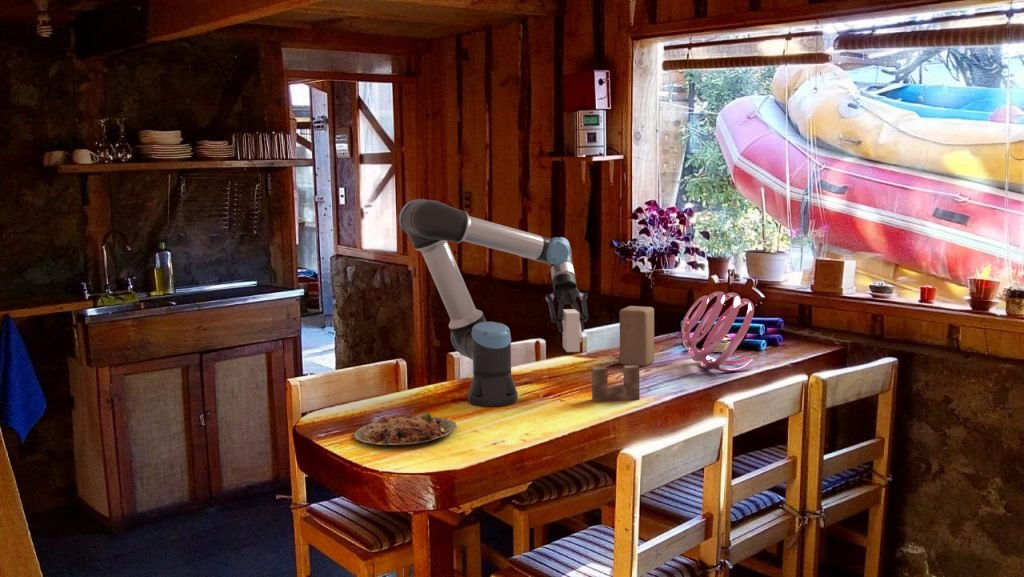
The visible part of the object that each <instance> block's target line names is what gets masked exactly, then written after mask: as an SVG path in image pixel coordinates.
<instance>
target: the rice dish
mask: <svg viewBox="0 0 1024 577" xmlns="http://www.w3.org/2000/svg"><path fill="white" fill-rule="evenodd" d="M457 426H458V425H457V423H456V422H455V421H452V420H451V419H448V418H446V417H445V418H444V417H443V418H442V417H437V416H436V417H435V416H432V415H431V414H430V413H429V412H427V411H425V412H422V413H420V414H418V413H416V414H413V415H411V414H409V413H407V414H399V415H397V414H396V415H393V416H392V415H391V416H388V417H387V416H382V418H380V419H377V420H375V421H373V422H371V423H369V424H365V425H363V426H361V427H359V428H358V429H356V430H355V431H354V433H353V434H352V436H353V438H354V439H355V440H357V441H360V442H363V443H365V444H367V443H368V444H372V445H377V446H389V445H391V446H411V445H417V444H424V443H427V442H430V441H434V440H436V439H440V438H444V437H446V436H449V435H450V434H451V433H453V432H454V431H456V429H458V427H457Z"/></svg>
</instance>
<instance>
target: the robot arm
mask: <svg viewBox="0 0 1024 577" xmlns="http://www.w3.org/2000/svg"><path fill="white" fill-rule="evenodd" d="M398 217H399V218H398V221H399V226H400V228H401V230H402V231H403V233H404V234H406V235H407V236H408V237H409V240H410V243H411V244H412V247H413V249H414V250H415V251H419V252H420V253H421V255H422V257H423V259H424V261H425V263H426V266H427V268H428V271H429V273H430V275H431V277H432V280H433V282H434V284H435V287H436V288H437V292H438V293H439V296H440V298H441V301H442V302H443V305H444V307H445V310H446V312H447V314H448V317H449V320H450V321H449V324H448V328H449V330H450V341H451V344H452V346H453V348H454V350H456V351H457V353H459V354H460V355H461V356H463V357H465V358H468V359H470V360H472V369H473V370H472V371H473V372H472V374H473V376H472V380H471V384H470V387H469V390H468V396H467V398H468V403H469V404H471V405H475V406H478V407H501V406H503V407H505V406H508V405H512V404H514V403H516V402H517V401H518V400H519V399H518V398H519V397H518V391H517V388H516V385H515V382H514V378H513V375H512V347H511V346H512V337H511V331H510V328H509V326H507V325H506V324H504V323H501V322H495V321H487V320H486V318H485V317H486V316H485V315H484V313H483V311H482V310H480V309H477V307H476V306H475V304H474V302H473V299H472V296H471V294H470V292H469V290H468V288H467V286H466V282H465V281H464V278H463V276H462V274H461V271H460V269H459V266H458V264H457V261H456V259H455V256H454V255H453V252H452V250H451V247H450V245H449V243H448V242H452V243H455V244H460V243H461V242H465V243H468V244H469V243H470V244H474V245H478V246H481V247H485V248H489V249H493V250H497V251H501V252H505V253H509V254H513V255H516V256H518V257H522V258H523V259H528V260H531V261H534V262H539V263H542V264H544V265H545V264H546V265H549V268H550V274H551V280H552V288H553V289H552V290H553V291H552V293H546V295H545V301H546V303H547V304H548V309H549V311H548V312H549V316H550V321H551V323H552V324H557V328H558V332H559V333H561V335H562V341H563V340H564V343H566V341H567V333H566V326H565V320H562V315H563V309H564V306H565V305H570V307H571V309H576V310H577V311H578V312H579V316H580V343H582V340H583V332H584V330H585V325H584V323H587V322H588V320H589V309H588V303H587V298H588V292H586V291H585V292H584V293H583V292H580V290H579V288H578V286H577V281H576V273H575V269H574V263H573V262H574V261H573V256H572V255H573V252H572V248H571V245H570V241H569V240H568V239H567V238H566V237H562V236H560V237H557V236H556V237H552V238H550V237H547V236H542V235H538V234H535V233H532V232H528V231H525V230H521V229H518V228H513V227H510V226H506V225H503V224H499V223H495V222H492V221H489V220H485V219H480V218H477V217H474V216H470V214H468V212H467V211H464V210H461V209H459V208H455V207H452V206H450V205H448V204H446V203H443V202H441V201H438V200H434V199H424V198H418V199H414V200H411V201H409V202H407V203H406V204H404V205H403V207H402V209H401V211H400V213H399V216H398ZM578 298H579V300H580V301H581V309H580V307H579V304H578V302H577V299H578ZM554 299H555V300H556V301H557V302H558V303H559V305H558V313H557V316H556V310H555V304H554ZM581 310H582V312H581Z"/></svg>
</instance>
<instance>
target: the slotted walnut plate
mask: <svg viewBox="0 0 1024 577" xmlns="http://www.w3.org/2000/svg"><path fill="white" fill-rule="evenodd" d="M608 375H609V374H608V368H607V366H592V367H591V388H592V389H591V391H592V392H591V398H592V399H591V400H592V401H593V402H594V403H595V402H596V403H597V402H616V401H617V402H618V401H620V402H621V401H637V400H640V393H641V392H640V389H641V387H640V382H641V381H640V366H637V365H623V384H616V385H614V384H613V385H611V384H610V385H609V384H608V382H609V381H608V379H609V378H608V377H609V376H608Z"/></svg>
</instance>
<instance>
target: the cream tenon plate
mask: <svg viewBox="0 0 1024 577" xmlns="http://www.w3.org/2000/svg"><path fill="white" fill-rule="evenodd" d="M562 320H565V326H566V333H567V341H566V343H564V340H563V339H562V348H563V349H564V351H565V352H566V353H577V352H578V353H579V352H580V351H581V349H580V348H581V346H580V345H581V344H580V343H581V342H580V316H579V312H578V311H577V310H576V309H572V308H566V309H565V308H563V315H562Z"/></svg>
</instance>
